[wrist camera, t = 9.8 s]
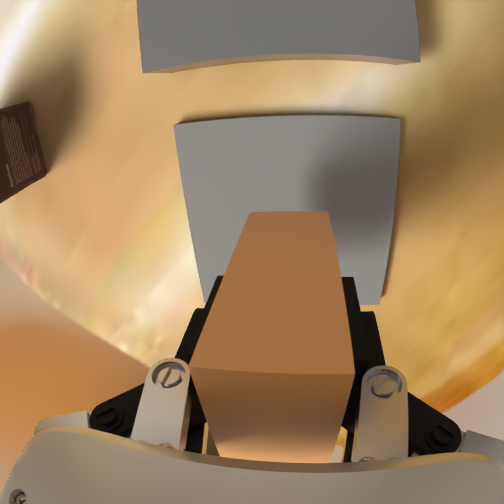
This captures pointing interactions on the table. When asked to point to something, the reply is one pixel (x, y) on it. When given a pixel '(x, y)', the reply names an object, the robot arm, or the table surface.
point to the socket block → (274, 32)
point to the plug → (277, 343)
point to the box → (18, 150)
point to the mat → (293, 185)
